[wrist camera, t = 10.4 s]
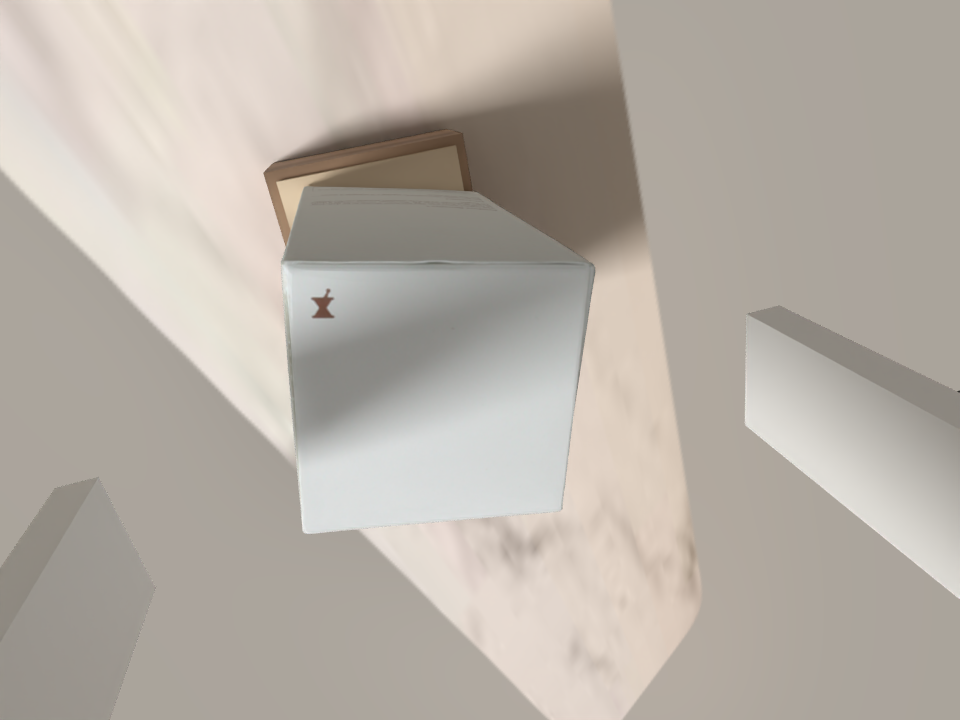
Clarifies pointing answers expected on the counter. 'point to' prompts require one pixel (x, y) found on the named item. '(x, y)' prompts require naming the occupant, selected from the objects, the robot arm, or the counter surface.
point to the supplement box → (428, 357)
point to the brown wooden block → (372, 170)
